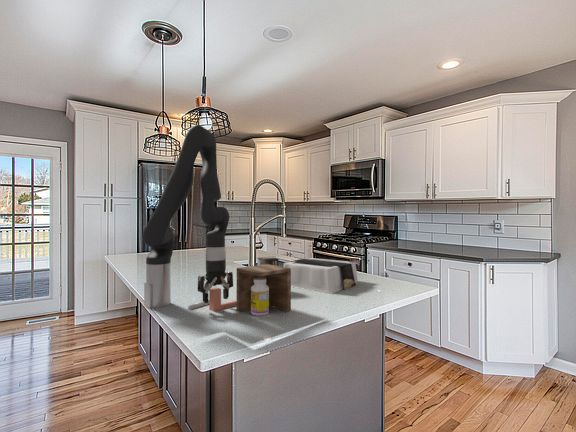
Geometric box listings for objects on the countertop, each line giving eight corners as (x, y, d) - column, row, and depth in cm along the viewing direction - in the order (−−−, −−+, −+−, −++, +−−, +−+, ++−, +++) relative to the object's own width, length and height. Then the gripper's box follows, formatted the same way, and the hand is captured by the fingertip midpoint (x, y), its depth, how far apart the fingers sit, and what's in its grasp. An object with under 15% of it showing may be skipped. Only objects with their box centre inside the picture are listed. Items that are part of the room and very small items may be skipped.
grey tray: (364, 285, 171) (364, 261, 171) (334, 298, 145) (334, 270, 145) (308, 277, 192) (308, 256, 192) (273, 287, 166) (273, 263, 166)
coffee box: (276, 290, 158) (276, 257, 158) (279, 293, 152) (279, 258, 152) (257, 291, 155) (257, 257, 155) (259, 294, 149) (259, 259, 149)
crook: (213, 311, 123) (213, 290, 123) (202, 306, 129) (202, 286, 129) (254, 302, 136) (254, 282, 136) (243, 298, 142) (243, 279, 142)
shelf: (259, 319, 113) (259, 272, 113) (236, 310, 123) (236, 268, 123) (290, 311, 124) (290, 268, 123) (267, 303, 134) (267, 264, 134)
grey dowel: (191, 306, 125) (188, 304, 126) (190, 310, 125) (187, 309, 126) (221, 297, 138) (217, 296, 139) (220, 301, 139) (217, 300, 140)
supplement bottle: (248, 312, 122) (248, 277, 122) (265, 310, 125) (265, 276, 125) (254, 317, 116) (254, 281, 116) (271, 315, 119) (271, 279, 119)
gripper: (204, 261, 118) (204, 306, 118) (236, 257, 128) (237, 299, 128) (193, 259, 123) (194, 302, 123) (226, 256, 133) (226, 295, 133)
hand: (216, 300), depth 125 cm, fingers open, 8 cm apart
